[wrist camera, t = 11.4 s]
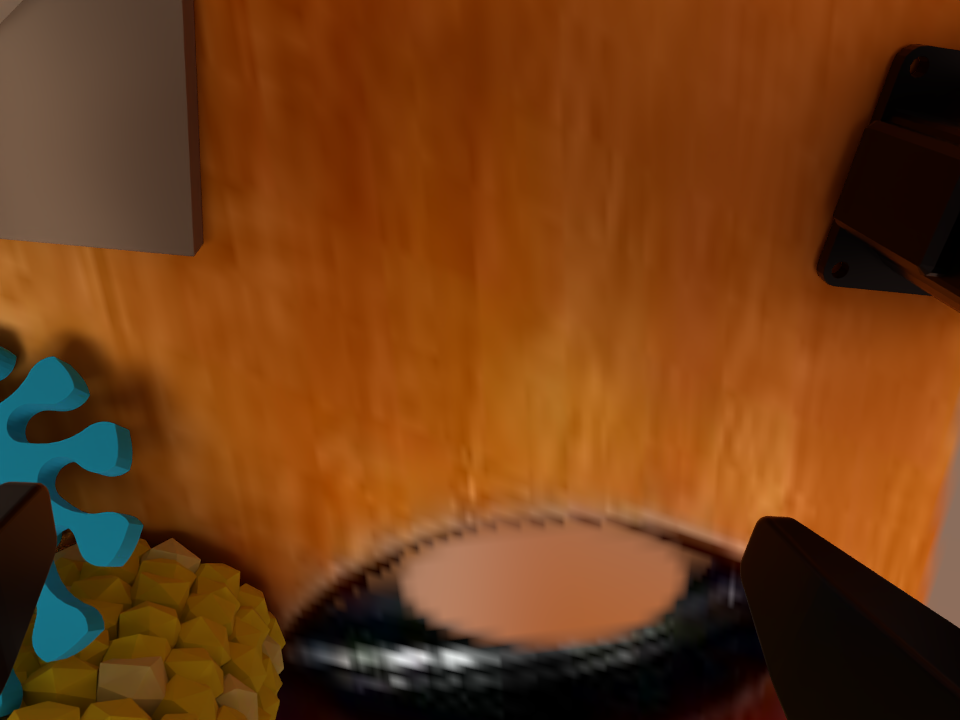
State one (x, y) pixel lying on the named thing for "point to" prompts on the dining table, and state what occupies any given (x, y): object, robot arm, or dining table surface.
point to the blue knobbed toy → (63, 502)
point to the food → (159, 644)
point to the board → (100, 125)
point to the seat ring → (7, 7)
